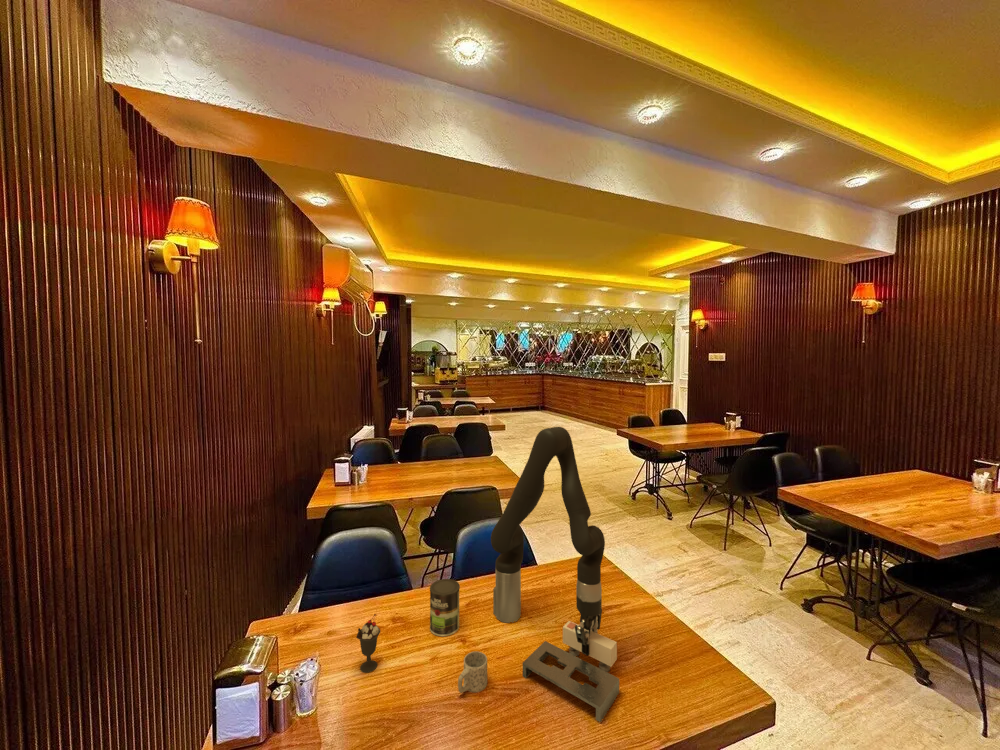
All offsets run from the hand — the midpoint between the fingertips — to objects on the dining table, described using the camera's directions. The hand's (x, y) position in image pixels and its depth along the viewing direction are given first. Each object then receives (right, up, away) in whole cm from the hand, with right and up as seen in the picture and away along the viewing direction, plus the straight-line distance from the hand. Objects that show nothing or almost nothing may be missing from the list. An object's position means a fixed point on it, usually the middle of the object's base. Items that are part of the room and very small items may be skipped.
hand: (589, 649), depth 119 cm
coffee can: (-46, -4, +16) cm, 49 cm away
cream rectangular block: (0, -3, 0) cm, 3 cm away
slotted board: (-8, -3, -9) cm, 12 cm away
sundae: (-67, -4, -2) cm, 67 cm away
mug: (-35, -4, -10) cm, 37 cm away
